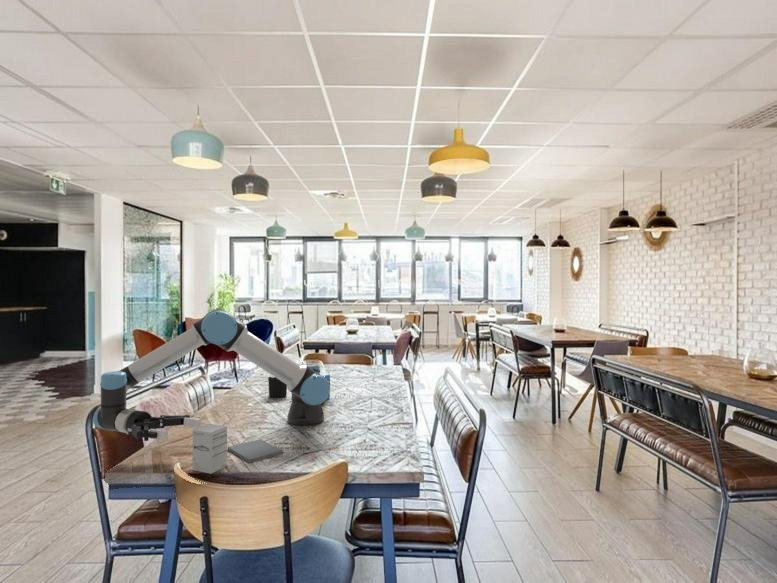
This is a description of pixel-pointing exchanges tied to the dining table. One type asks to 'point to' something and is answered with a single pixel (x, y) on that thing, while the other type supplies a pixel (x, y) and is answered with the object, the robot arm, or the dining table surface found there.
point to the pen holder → (277, 388)
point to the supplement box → (209, 448)
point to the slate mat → (255, 450)
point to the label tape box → (329, 384)
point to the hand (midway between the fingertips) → (184, 429)
